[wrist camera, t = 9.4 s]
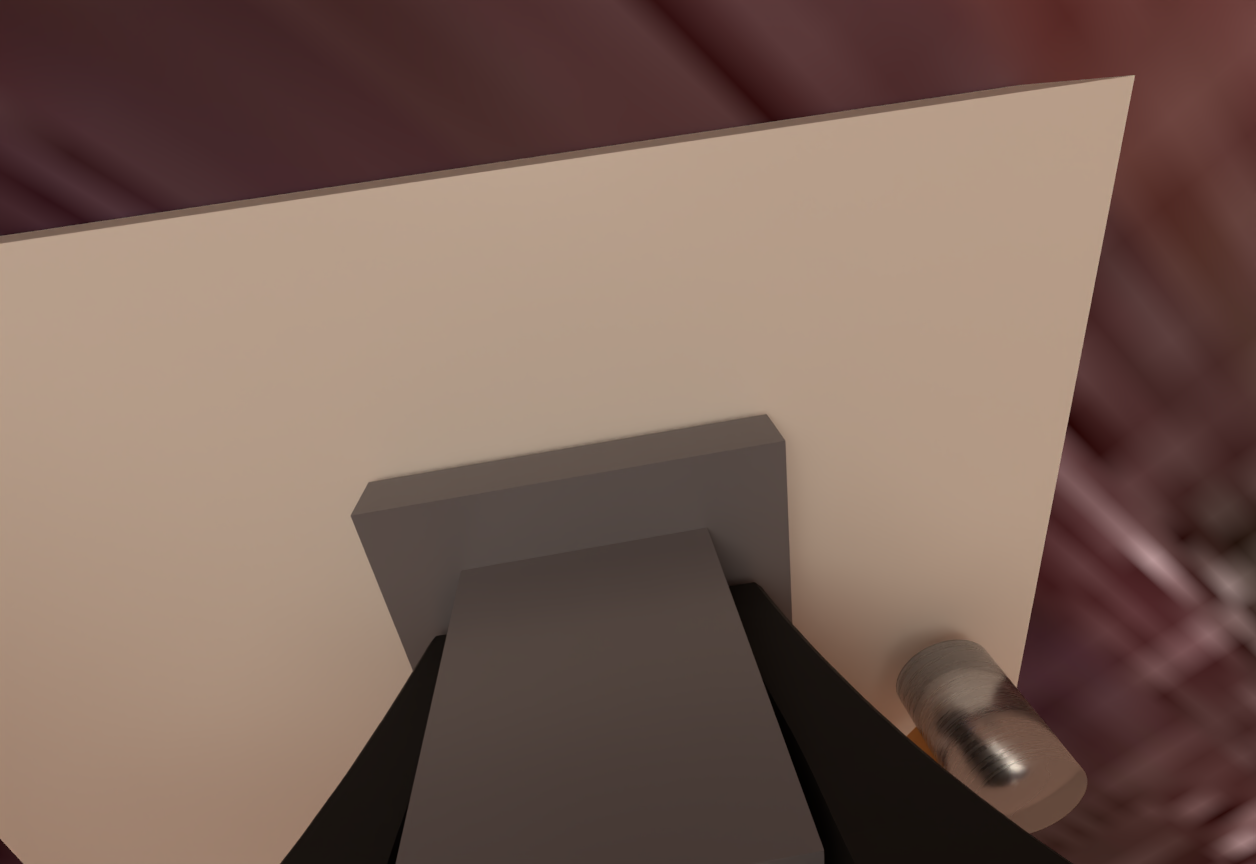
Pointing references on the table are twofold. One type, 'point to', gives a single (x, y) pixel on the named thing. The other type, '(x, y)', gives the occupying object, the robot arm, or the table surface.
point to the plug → (595, 651)
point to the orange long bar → (988, 734)
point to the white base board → (512, 424)
